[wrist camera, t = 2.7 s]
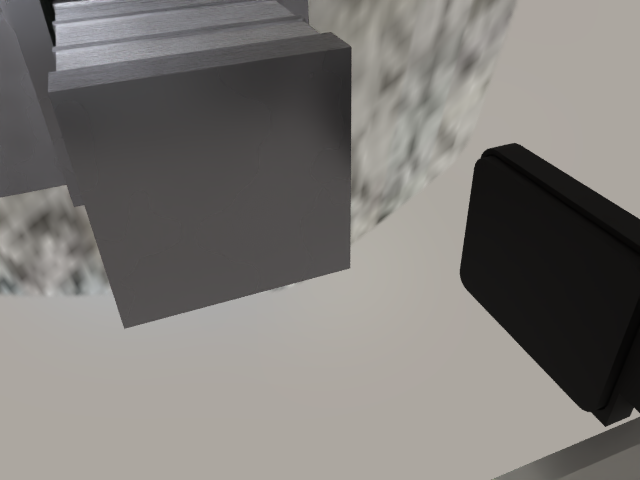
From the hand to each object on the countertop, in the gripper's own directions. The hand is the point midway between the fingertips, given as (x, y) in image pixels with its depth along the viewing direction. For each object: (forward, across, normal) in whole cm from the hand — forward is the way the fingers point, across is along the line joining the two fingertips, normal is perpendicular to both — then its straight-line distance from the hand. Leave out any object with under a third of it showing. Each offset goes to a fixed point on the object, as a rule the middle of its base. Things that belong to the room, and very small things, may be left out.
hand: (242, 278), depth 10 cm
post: (+19, -1, -1) cm, 19 cm away
